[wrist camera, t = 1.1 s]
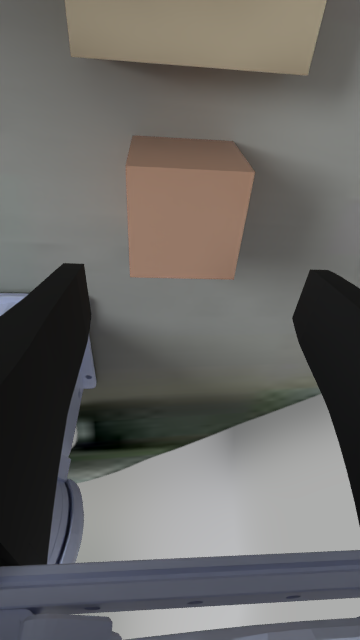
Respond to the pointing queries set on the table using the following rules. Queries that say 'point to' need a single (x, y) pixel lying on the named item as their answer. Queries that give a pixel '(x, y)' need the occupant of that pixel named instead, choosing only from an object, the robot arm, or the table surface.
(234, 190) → the terracotta cube
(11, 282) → the table surface
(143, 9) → the oak block
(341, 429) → the robot arm
